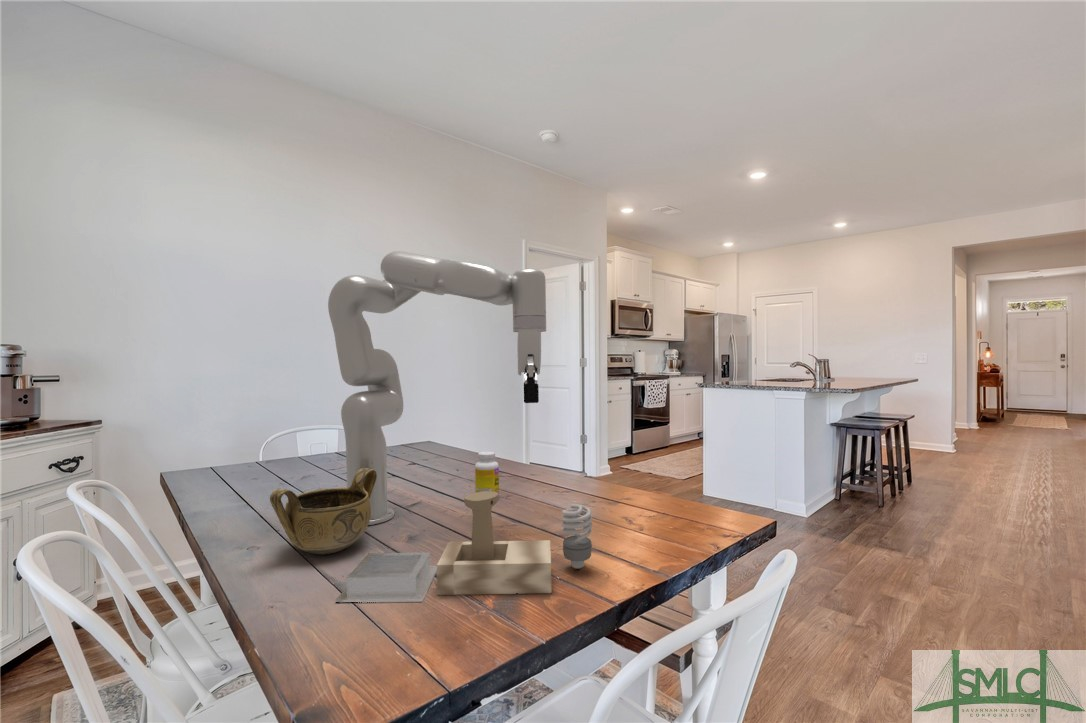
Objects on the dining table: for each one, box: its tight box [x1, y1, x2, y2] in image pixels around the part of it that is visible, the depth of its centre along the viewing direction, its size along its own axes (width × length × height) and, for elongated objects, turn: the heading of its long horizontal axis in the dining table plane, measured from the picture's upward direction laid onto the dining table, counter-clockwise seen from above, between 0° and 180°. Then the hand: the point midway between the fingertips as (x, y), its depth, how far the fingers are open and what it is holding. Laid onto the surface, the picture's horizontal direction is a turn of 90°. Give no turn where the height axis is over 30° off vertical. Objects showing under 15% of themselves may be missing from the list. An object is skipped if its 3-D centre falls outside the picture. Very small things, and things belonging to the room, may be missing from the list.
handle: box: [464, 491, 500, 561], centre depth 88 cm, size 5×6×15 cm
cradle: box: [335, 551, 437, 604], centre depth 87 cm, size 14×13×4 cm
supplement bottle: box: [474, 451, 500, 494], centre depth 140 cm, size 7×7×13 cm
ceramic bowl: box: [269, 468, 377, 556], centre depth 104 cm, size 22×17×15 cm
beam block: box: [436, 539, 552, 596], centre depth 88 cm, size 19×10×5 cm, turn 90°
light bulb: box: [561, 503, 593, 570], centre depth 92 cm, size 6×6×12 cm
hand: (530, 400), depth 113 cm, fingers open, 9 cm apart
